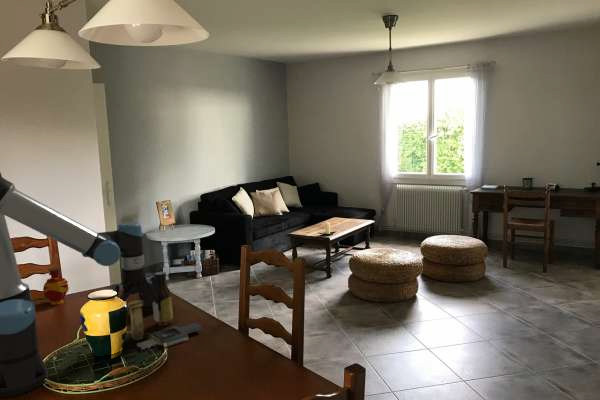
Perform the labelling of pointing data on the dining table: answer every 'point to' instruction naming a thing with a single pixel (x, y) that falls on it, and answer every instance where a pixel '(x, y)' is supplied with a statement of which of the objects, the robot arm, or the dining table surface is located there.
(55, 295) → the potion bottle
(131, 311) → the pin
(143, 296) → the camera lens
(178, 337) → the dark grey flat piece
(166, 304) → the sauce bottle
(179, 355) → the dining table surface
